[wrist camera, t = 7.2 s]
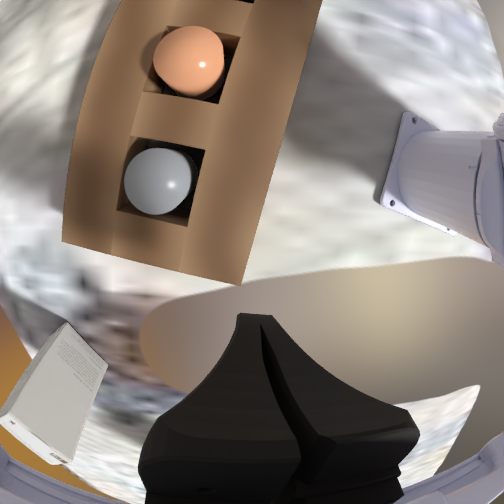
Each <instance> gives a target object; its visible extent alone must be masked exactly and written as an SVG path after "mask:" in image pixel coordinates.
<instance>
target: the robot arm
mask: <svg viewBox="0 0 504 504" xmlns="http://www.w3.org/2000/svg"><path fill="white" fill-rule="evenodd" d="M412 118H413V119H414V123H413V122H412ZM493 130H494V132H481V131H440V130H439V129H437V128H436V127H434V126H433V125H431V124H429V123H428V122H426V121H425V120H423V119H421V118H420V117H418V116H416V115H415V114H413V113H411V112H404V113H403V116H402V120H401V124H400V129H399V133H398V137H397V141H396V145H395V149H394V153H393V156H392V160H391V164H390V167H389V171H388V174H387V178H386V181H385V185H384V188H383V191H382V194H381V198H380V204H381V205H382V206H383V207H386V208H388V209H391V210H393V211H396V212H399V213H401V214H403V215H406V216H408V217H411V218H413V219H416V220H418V221H420V222H423V223H425V224H427V225H430V226H432V227H434V228H437V229H439V230H441V231H443V232H445V233H448V234H450V235H452V236H456V235H457V233H459V234H462V235H464V236H466V237H468V238H470V239H472V240H474V241H476V242H478V243H480V244H482V245H484V246H486V247H488V248H490V251H491V254H492V261H493V262H495V263H497V264H499V265H500V266H502V267H504V113H502V114H500V116H499V117H498V119H497V121H496V122H495V123H494V124H493ZM391 200H392V201H393V203H392V205H391V206H390V201H391ZM419 437H420V431H419V429H418V427H417V426H416V424H415V422H414V421H413V419H412V417H411V415H410V414H409V412H408V411H407V410H405V409H402V408H399V407H396V406H393V405H390V404H387V403H384V402H382V401H379V400H377V399H375V398H373V397H370V396H368V395H366V394H364V393H362V392H360V391H358V390H356V389H354V388H353V387H351V386H349V385H348V384H346V383H344V382H343V381H341V380H339V379H338V378H336V377H335V376H333V375H332V374H331V373H329V372H328V371H326V370H325V369H324V368H323V367H321V366H320V365H319V364H317V363H316V362H315V361H314V360H313V359H312V358H311V357H310V356H309V355H307V354H306V353H305V352H304V351H303V350H302V349H301V348H300V347H299V346H298V345H297V344H296V343H295V342H294V340H293V339H291V337H290V336H289V335H288V334H287V333H286V331H285V330H284V329H283V328H282V327H281V326H280V324H279V323H278V322H277V321H276V319H275V318H274V317H273V316H272V315H261V314H247V313H240V314H238V315H237V320H236V328H235V331H234V333H233V336H232V338H231V340H230V342H229V344H228V346H227V348H226V350H225V351H224V353H223V355H222V356H221V358H220V359H219V361H218V362H217V364H216V365H215V366H214V368H213V369H212V370H211V372H210V373H209V374H208V375H207V376H206V378H205V379H204V380H203V381H202V382H201V383H200V384H199V385H198V386H197V387H196V388H195V389H194V390H193V391H192V392H191V393H190V394H189V395H187V396H186V397H185V398H184V399H183V400H182V401H181V402H179V403H178V404H177V405H175V406H174V407H173V408H171V409H170V410H168V411H167V412H165V413H164V414H162V415H161V416H160V417H158V418H157V420H156V421H155V423H154V425H153V426H152V428H151V430H150V432H149V434H148V435H147V437H146V440H145V442H144V445H143V447H142V450H141V454H140V459H139V464H138V473H139V475H140V478H141V480H142V482H143V484H144V486H145V488H146V491H147V492H146V498H145V504H489V503H490V502H491V501H493V500H494V499H495V498H496V497H497V496H499V495H500V494H501V493H502V492H503V491H504V432H502V433H501V434H499V435H498V436H496V437H494V438H493V439H492V440H490V441H489V442H488V443H487V444H486V445H485V446H484V447H483V448H482V449H481V450H480V451H479V453H478V454H476V455H475V456H473V457H471V458H469V459H467V460H465V461H463V462H462V463H460V464H458V465H456V466H454V467H452V468H450V469H448V470H446V471H444V472H441V473H439V474H437V475H435V476H433V477H430V478H428V479H426V480H423V481H421V482H418V483H416V484H413V485H411V486H408V487H405V488H403V489H402V488H401V486H400V483H399V481H398V479H397V477H399V476H400V475H401V471H400V469H399V467H398V464H399V463H400V462H401V461H402V460H403V459H404V458H405V457H406V456H407V455H408V454H409V453H410V452H411V450H412V449H413V448H414V447H415V445H416V444H417V442H418V439H419ZM0 504H129V503H125V502H121V501H117V500H113V499H109V498H106V497H103V496H99V495H96V494H93V493H90V492H87V491H84V490H82V489H79V488H76V487H73V486H71V485H68V484H65V483H63V482H61V481H58V480H56V479H54V478H51V477H49V476H47V475H45V474H43V473H40V472H38V471H36V470H34V469H32V468H30V467H28V466H26V465H25V464H22V463H21V462H19V461H17V460H15V459H13V458H11V457H10V456H9V454H8V453H7V451H6V450H5V449H4V448H3V447H2V446H1V445H0Z"/></svg>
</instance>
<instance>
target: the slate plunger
mask: <svg viewBox="0 0 504 504" xmlns="http://www.w3.org/2000/svg"><path fill="white" fill-rule="evenodd" d="M197 178H198V171H197V167H196V164H195V162H194V160H193V159H192V158H191V157H190V156H189V155H188V154H187V153H185V152H183V151H180V150H176V149H164V148H152V149H148V150H145V151H143V152H141V153H139V154H138V155H137V156H135V157H134V158H133V159H132V161H131V162H130V164H129V165H128V167H127V170H126V173H125V178H124V186H125V191H126V194H127V197H128V198H129V200H130V202H131V203H132V204H133V205H134V206H135V207H136V208H137V209H139V210H140V211H142V212H144V213H147V214H152V215H159V214H164V213H167V212H169V211H171V210H173V209H174V208H176V207H177V206H178V205H179V204H180V203H181V202H182V201H183V200H184V199H185V198H186V197H187V196H188V195H189V194H190V193H191V192H192V191H193V189H194V188H195V185H196V183H197Z"/></svg>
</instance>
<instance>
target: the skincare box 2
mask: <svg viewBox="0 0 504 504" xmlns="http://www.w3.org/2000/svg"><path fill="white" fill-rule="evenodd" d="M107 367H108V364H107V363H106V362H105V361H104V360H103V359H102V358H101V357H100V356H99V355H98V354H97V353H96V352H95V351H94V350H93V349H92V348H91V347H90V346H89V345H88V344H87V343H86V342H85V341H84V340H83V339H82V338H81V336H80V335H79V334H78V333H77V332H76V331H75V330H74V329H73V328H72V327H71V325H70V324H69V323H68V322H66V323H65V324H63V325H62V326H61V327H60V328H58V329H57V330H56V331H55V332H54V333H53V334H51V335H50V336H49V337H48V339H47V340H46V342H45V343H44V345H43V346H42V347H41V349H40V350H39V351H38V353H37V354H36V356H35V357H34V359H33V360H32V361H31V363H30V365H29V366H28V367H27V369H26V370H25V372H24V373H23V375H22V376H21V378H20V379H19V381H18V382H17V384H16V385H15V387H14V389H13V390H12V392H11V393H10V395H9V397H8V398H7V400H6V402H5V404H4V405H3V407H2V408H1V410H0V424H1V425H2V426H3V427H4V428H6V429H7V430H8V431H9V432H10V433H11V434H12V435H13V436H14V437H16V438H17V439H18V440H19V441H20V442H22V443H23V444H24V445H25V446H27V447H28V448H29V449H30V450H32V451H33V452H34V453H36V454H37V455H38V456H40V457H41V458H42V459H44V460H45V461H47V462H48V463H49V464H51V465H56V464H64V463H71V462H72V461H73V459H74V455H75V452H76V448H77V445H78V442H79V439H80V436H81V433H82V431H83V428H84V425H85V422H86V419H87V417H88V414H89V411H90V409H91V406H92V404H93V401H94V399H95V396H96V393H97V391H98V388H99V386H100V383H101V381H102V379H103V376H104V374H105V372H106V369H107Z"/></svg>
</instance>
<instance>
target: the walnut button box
mask: <svg viewBox="0 0 504 504" xmlns="http://www.w3.org/2000/svg"><path fill="white" fill-rule="evenodd" d="M321 4H322V0H255V1H254V3H253V4H251V3H247V2H242V1H237V0H122V1H121V3H120V5H119V7H118V9H117V11H116V13H115V15H114V17H113V19H112V21H111V23H110V26H109V28H108V30H107V33H106V35H105V37H104V40H103V42H102V45H101V47H100V50H99V53H98V55H97V58H96V61H95V64H94V66H93V69H92V72H91V75H90V78H89V82H88V85H87V88H86V91H85V95H84V98H83V102H82V106H81V110H80V114H79V118H78V122H77V126H76V131H75V135H74V140H73V145H72V151H71V156H70V162H69V168H68V175H67V183H66V191H65V200H64V211H63V226H62V242H65V243H69V244H72V245H76V246H80V247H83V248H87V249H91V250H94V251H98V252H102V253H105V254H109V255H113V256H117V257H121V258H124V259H128V260H132V261H136V262H140V263H144V264H148V265H152V266H156V267H160V268H164V269H168V270H173V271H177V272H181V273H185V274H189V275H194V276H198V277H202V278H207V279H211V280H216V281H220V282H225V283H229V284H234V285H238V286H241V282H242V279H243V275H244V272H245V268H246V265H247V261H248V258H249V254H250V251H251V247H252V244H253V240H254V237H255V233H256V230H257V226H258V223H259V219H260V216H261V212H262V209H263V205H264V202H265V198H266V195H267V191H268V188H269V184H270V181H271V177H272V174H273V170H274V167H275V163H276V160H277V156H278V153H279V149H280V146H281V142H282V139H283V135H284V132H285V128H286V125H287V121H288V118H289V114H290V111H291V107H292V104H293V100H294V97H295V94H296V90H297V87H298V83H299V80H300V76H301V73H302V69H303V66H304V62H305V59H306V55H307V52H308V48H309V45H310V42H311V38H312V35H313V31H314V28H315V24H316V21H317V17H318V14H319V10H320V7H321ZM186 26H199V27H204V28H207V29H209V30H211V31H212V32H214V33H215V34H216V35H217V36H218V37H219V39H220V40H221V43H222V45H223V53H224V55H226V56H231V57H234V58H233V60H232V63H231V66H230V69H229V73H228V76H227V79H226V82H225V85H224V88H223V91H222V95H221V98H220V101H219V104H214V103H209V102H205V101H200V100H194V99H189V98H183V97H178V96H171V95H165V94H162V93H163V89H164V86H165V83H166V82H165V81H164V80H163V79H162V78H161V77H160V76H159V75H158V73H157V72H156V70H155V67H154V63H153V57H154V52H155V49H156V47H157V45H158V44H159V42H160V41H161V40H162V39H163V38H164V37H165V36H166V35H167V34H169V33H170V32H172V31H174V30H176V29H179V28H182V27H186ZM150 139H155V140H160V141H166V142H171V143H176V144H181V145H186V146H191V147H195V148H200V149H204V150H206V151H205V154H204V158H203V162H202V166H201V170H200V174H199V178H198V182H197V186H196V191H195V195H194V199H193V204H192V208H191V212H190V211H186V210H182V209H177V208H174V209H173V210H171V211H169V212H167V213H164V214H159V215H152V214H147V213H144V212H142V211H140V210H139V209H137V208H136V207H135V206H134V205H133V204H132V203H131V202H130V200H129V198H128V197H127V194H126V191H125V186H124V178H125V173H126V170H127V167H128V165H129V164H130V162H131V161H132V159H133V158H134V157H135V156H137V155H138V154H139V153H141V152H143V151H145V150H147V148H148V144H149V140H150Z"/></svg>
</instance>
